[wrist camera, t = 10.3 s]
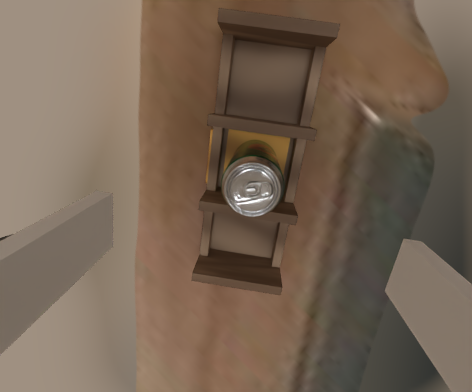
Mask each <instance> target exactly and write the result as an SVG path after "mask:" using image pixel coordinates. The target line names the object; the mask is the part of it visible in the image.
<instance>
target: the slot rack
mask: <svg viewBox="0 0 472 392" xmlns="http://www.w3.org/2000/svg"><path fill="white" fill-rule="evenodd" d="M218 24H219V26H220V28H221V30H222V32H223V41H222V50H221V60H220V69H219V78H218V88H217V97H216V106H215V113H214V114H208V121H207V125H208V126H213V129H211V134H210V143H209V153H208V163H207V172H206V182H205V183H207V190H206V192H205V193H204V195H203V196H202V198H201V199H200V201H199V210H201V211H204V218H203V228H202V237H201V246H200V255H199V258H198V260H197V263H196V265H195V268H194V270H193V273H192V281H196V282H202V283H208V284H215V285H221V286H227V287H233V288H239V289H245V290H251V291H257V292H263V293H269V294H275V295H281V291H282V282H281V274H280V264H281V259H282V255H283V250H284V245H285V240H286V236H287V231H288V226H289V224H291V225H296V223H297V218H298V215H297V212H296V209H295V206H294V204H293V202H294V198H295V193H296V188H297V183H298V179H299V174H300V169H301V164H302V160H303V155H304V150H305V145H306V141H307V140H311V141H315V136H316V132H317V130H316V129H313V128H311V127H309V126H310V122H311V117H312V112H313V108H314V103H315V98H316V93H317V89H318V84H319V79H320V74H321V70H322V65H323V60H324V55H325V51H326V47H327V46H328V45H329V44H331V43H332V42H333V41H334V40H335V39H336V38H337V36H338V31H339V27H340V24H337V23H330V22H322V21H314V20H307V19H299V18H291V17H284V16H276V15H268V14H261V13H253V12H246V11H238V10H230V9H223V8H219V12H218ZM250 140H260V141H263V142H265V143H267V144H269V145H270V146H271V147H272V148H273V150H274V151H275V153H276V156H277V159H278V162H279V165H280V168H281V171H282V174H283V177H284V182H285V190H284V194H283V197H282V199H281V201H280V203H279V204H278V205H277V206H276V207H275V208H274V209H273V210H272V211H270V212H269V213H266V214H264V215H261V216H257V217H248V216H244V215H241V214H239V213H237V212H236V211H234V210H233V209H232V208H231V207H230V206H229V205H228V204H227V203H226V201H225V200H224V198H223V195H222V191H221V180H222V176H223V173H224V171H225V170H226V168H227V166H228V164H229V162H230V160H231V158H232V157H233V155H234V153H235V151H236V150H237V148H238V147H239V146H240V145H241V144H243V143H244V142H246V141H250Z"/></svg>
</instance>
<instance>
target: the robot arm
mask: <svg viewBox="0 0 472 392" xmlns="http://www.w3.org/2000/svg"><path fill="white" fill-rule="evenodd" d="M112 247H113V193H108V192H102V191H95V192H93V193H91V194H89V195H87V196H85V197H83V198H82V199H80V200H78V201H76V202H74V203H72V204H70V205H68V206H66V207H64V208H62V209H60V210H59V211H57V212H55V213H53V214H51V215H49V216H47V217H45V218H44V219H41V220H40V221H38V222H36V223H34V224H32V225H30V226H28V227H26V228H25V229H22V230H20V231H19V232H17V233H15V234H12V235H9V236H5V237H2V238H0V355H1V354H2V353H3V352H4V351H5V350H6V349H7V348H8V347H9V346H10V345H11V344H12V343H13V342H14V341H16V340H17V339H18V338H19V337H20V336H21V335H22V334H23V333H24V332H25V331H26V330H27V329H28V328H29V327H30V326H31V325H32V324H33V323H34V322H35V321H36V320H37V319H38V318H39V317H40V316H41V315H43V313H45V312H46V311H47V310H48V309H49V308H50V307H51V306H52V305H53V304H54V303H55V302H56V301H57V300H58V299H59V298H60V297H61V296H62V295H63V294H64V293H65V292H66V291H67V290H68V289H69V288H70V287H72V286H73V285H74V284H75V283H76V282H77V281H78V280H79V279H80V278H81V277H82V276H83V275H84V274H85V273H86V272H87V271H88V270H89V269H90V268H91V267H92V266H93V265H94V264H95V263H97V261H98V260H100V259H101V258H102V257H103V256H104V255H105V254H106V253H107V252H108V251H109V250H110V249H111V248H112ZM385 292H386V294H387V295H388V297H389V298H390V300H391V301H392V303H393V304H394V306H395V307H396V309H397V310H398V311H399V313H400V315H401V316H402V318H403V319H404V321H405V322H406V324H407V325H408V327H409V328H410V330H411V331H412V333H413V334H414V336H415V337H416V339H417V340H418V342H419V343H420V345H421V346H422V348H423V349H424V351H425V352H426V354H427V355H428V357H429V358H430V360H431V361H432V363H433V364H434V366H435V367H436V369H437V370H438V372H439V373H440V375H441V376H442V378H443V379H444V381H445V383H446V384H447V386H448V387H449V388H450V390H451V391H452V392H472V284H471V283H469V282H468V281H467V280H466V279H465V278H464V277H462V276H461V275H460V274H459V273H458V272H456V271H455V270H454V269H453V268H452V267H451V266H449V265H448V264H447V263H446V262H445V261H444V260H442V259H441V258H440V257H439V256H438V255H437V254H435V253H434V252H433V251H432V250H431V249H430V248H428V247H427V246H426V245H425V244H424V243H423V242H420V241H415V240H408V239H403V242H402V245H401V248H400V250H399V253H398V256H397V259H396V262H395V264H394V267H393V270H392V273H391V275H390V278H389V281H388V284H387V286H386V289H385Z"/></svg>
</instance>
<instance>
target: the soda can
mask: <svg viewBox="0 0 472 392" xmlns="http://www.w3.org/2000/svg"><path fill="white" fill-rule="evenodd" d="M284 190H285V182H284V177H283V174H282V171H281V168H280V165H279V162H278V159H277V156H276V153H275V151H274V150H273V148H272V147H271V146H270V145H269V144H267V143H265V142H263V141H260V140H250V141H246V142H244V143H243V144H241V145H240V146H239V147H238V148H237V150H236V151H235V153H234V155H233V157H232V158H231V160H230V162H229V164H228V166H227V168H226V170H225V171H224V173H223V176H222V180H221V191H222V195H223V198H224V200H225V201H226V203H227V204H228V205H229V206H230V207H231V208H232V209H233V210H234V211H236V212H237V213H239V214H241V215H244V216H248V217H257V216H261V215H264V214H266V213H269V212H270V211H272V210H273V209H274V208H275V207H276V206H277V205H278V204H279V203H280V201H281V199H282V197H283V194H284Z"/></svg>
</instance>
